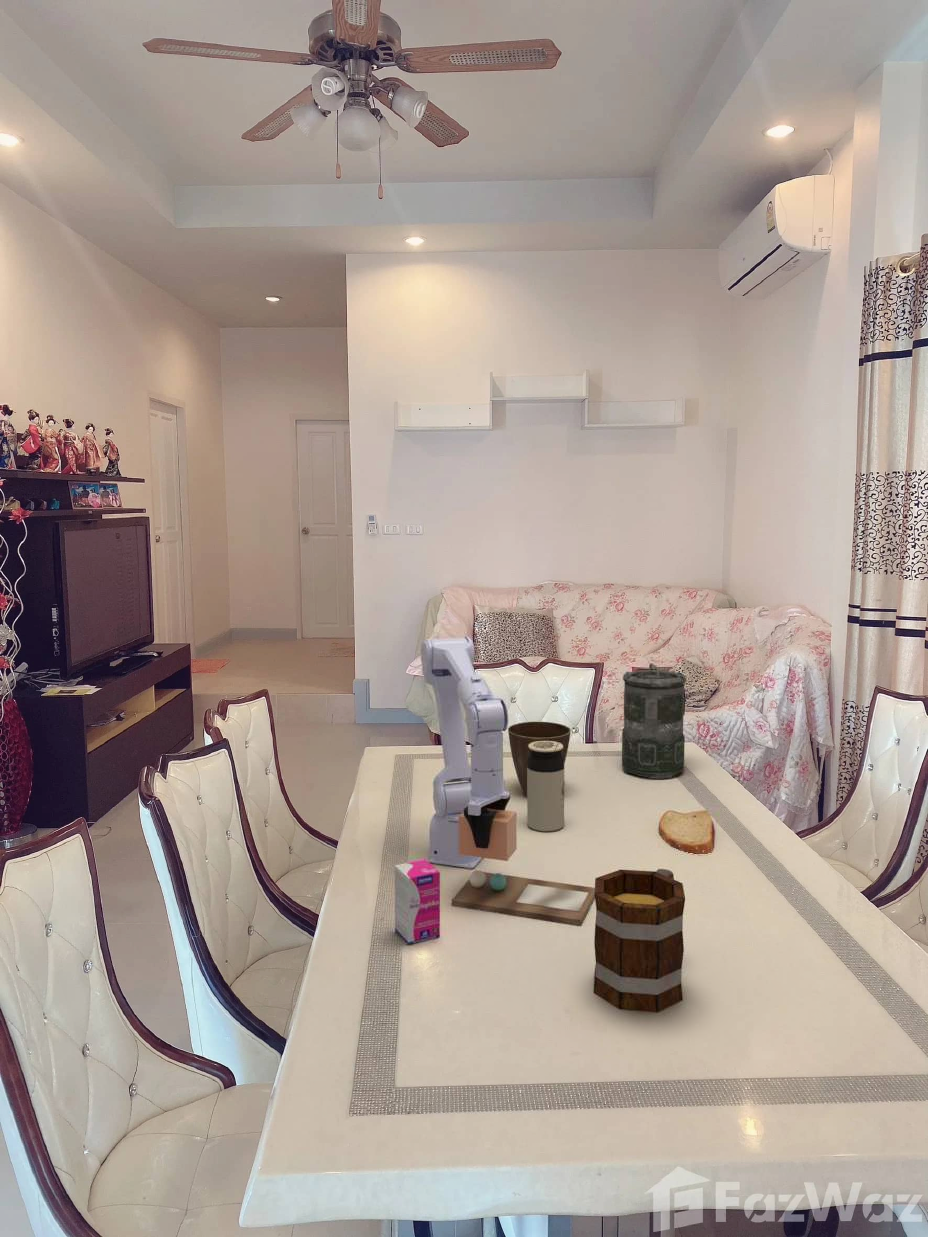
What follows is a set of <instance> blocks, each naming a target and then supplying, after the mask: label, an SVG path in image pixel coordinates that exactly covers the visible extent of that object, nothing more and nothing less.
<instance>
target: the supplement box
mask: <svg viewBox="0 0 928 1237" xmlns="http://www.w3.org/2000/svg"><path fill="white" fill-rule="evenodd" d="M394 932H396V933H397V935H398V936H399V937H401V938H400V939H402V940H403V941H404V943H405V944H406V945H408V946H409V945H413V944H416V943H420V942H424V941H428V940H432V939H438V938H440V937H441V871H439V870H438V869H437V868H436V867H435V866H434V865H432V863H430V862H428V860H427V859H421V860H416V861H415V860H414V861H411V862H407V863H406V862H405V863H401V864H396V865H394Z"/></svg>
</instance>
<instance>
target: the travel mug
mask: <svg viewBox="0 0 928 1237" xmlns="http://www.w3.org/2000/svg"><path fill="white" fill-rule="evenodd" d="M528 747H529V749H530V755H529V757H528V759H527V796H526V799H527V800H526V804H527V805H526V806H527V807H526V808H527V810H526V812H527V813H526V814H527V817H526V820H527V821H526V822H527V823H526V824H527V826H528V827H529V828H530V829H532V830H535V831H537V832H538V831H539V832H554V831H559V830H561V829H562V828H564V826H565V763H564V758H563V757H562V755H561V752H562V749H563V745H562V744H561V743H558V742H554V741H536V742H532V743H530V744H529V745H528Z"/></svg>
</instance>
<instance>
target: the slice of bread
mask: <svg viewBox="0 0 928 1237" xmlns="http://www.w3.org/2000/svg"><path fill="white" fill-rule="evenodd" d="M715 832H716V831H715V823H714V821H713V819H712V817H711V814H710V813H709V812H708V810H698V811H691V812H683V813H682V812H677V811H675V810H667V811H665V812H664V813H663V815H662V816H661V817H660V819H659V823H658V834H659V836H661V839H662V841H663V842H664V841H665V844H667V843H668V844H667V845H668V846H669V845H670V847H671V848H673V849H675V848H676V849H675V850H677V849H678V851H679V850H680V852H682V851H684V852H683V853H685V852H688V853H687V854H689V853H693V854H692V855H694V854H708V853H711V852H712V853H713V851H714V848H715ZM712 850H713V851H712ZM712 853H711V854H712Z"/></svg>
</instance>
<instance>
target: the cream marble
mask: <svg viewBox="0 0 928 1237" xmlns="http://www.w3.org/2000/svg"><path fill="white" fill-rule="evenodd" d="M483 872H484V871H482V870H474V871H473V872H471V873H470V875H469V879H470V883H471V885H472V886H474V887H476V888H480V887H482V886H483V885H484V884H485V883H486V876H485V874H484V873H483Z"/></svg>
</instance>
